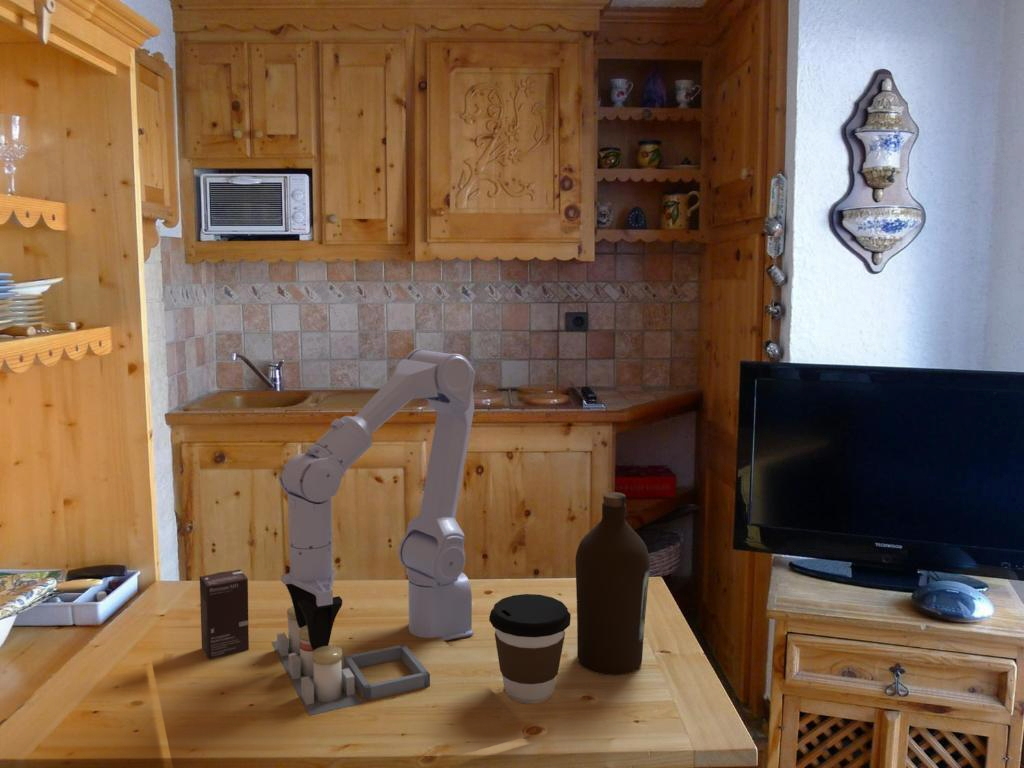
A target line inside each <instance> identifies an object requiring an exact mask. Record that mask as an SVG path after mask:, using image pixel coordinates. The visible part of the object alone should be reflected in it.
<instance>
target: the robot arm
mask: <svg viewBox="0 0 1024 768" xmlns="http://www.w3.org/2000/svg"><path fill="white" fill-rule="evenodd" d="M476 373H477V372H476V370H475V369H474V368H473V365H471V363H470V362H469V360H468V359H467V358H466V357H465V356H463V354H459V353H446V352H439V351H432V350H427V349H425V348H416V349H414V350H411V351H410V352H409V353H408V354H407V355H406V357H405V358H404V359H402V360H401V361H399V362H398V363H397V365H396V368H395V371H394V373H393V375H392V376H391V377H390V378H389V379H388V380H387V381H386V382H385V383H384V384H383V385H382V386H381V388H380V389H379V390H378V391H377V392H376V393H375V394H374V395H373V396H372V397H371V399H369V400H368V402H367V403H365V405H364V406H363V407H362V408H361V409H360V410H359V411H358V413H357V414H355V416H351V415H350V416H347V415H345V416H342V417H341V418H340V419H339V418H335V419H334V420H333V421H332V422H331V423H330V426H331V427H330V428H329V429H328V430H327V431H326V432H325V433H324V434H323V435H322V436H321V437H320V438H319V439H318V440H317V441H315V443H313V444H312V443H311V444H309V446H307V447H306V451H305V453H299V454H295V455H294V456H292V457H290V458H289V459H288V460H287V462H286V463H285V465H284V467H283V469H282V471H281V472H282V474H280V475H278V482H279V485H280V487H281V489H282V490H283V491H284V492H285V494H286V495H287V497H286V498H287V504H288V505H287V506H288V540H289V541H288V545H289V549H288V550H289V573H286V574H285V573H284V574H282V575H280V581H281V582H282V583H283V585H285V586H286V588H287V591H288V593H289V596H290V599H291V601H292V603H291V604H292V606H293V607H294V611H295V616H296V620H297V623H298V626H299V628H302V627H304V626H306V625H307V629H308V635H309V641H310V645H311V647H312V649H313V650H315V649H317V648H319V647H322V646H329V645H330V640H331V636H332V635H331V634H332V632H333V631H332V630H333V626H334V622H335V620H336V618H337V615H338V613H339V611H340V610H341V608H342V606H343V598H341V596H333V595H334V594H333V593H334V592H333V585H334V581H335V580H334V579H335V571H334V569H333V568H334V567H333V564H334V563H333V561H334V560H333V521H332V520H333V519H332V518H333V517H332V515H333V513H332V512H333V510H332V509H333V508H332V507H333V506H332V504H333V503H332V497H333V496H336V494H337V493H338V491H339V488H340V486H341V481H342V478H343V477H344V476H345V473H346V472H347V471H348V470H349V469H350V468H351V466H353V465H354V464H355V462H357V461H358V460H359V459H361V457H362V456H363V455H364V454H365V453H366V452H367V451H368V450H369V449H370V448H371V447H372V445H373V434H374V433H375V432H376V431H377V430H378V429H379V428H381V426H383V425H384V424H385V423H386V422H387V421H388V420H390V419H391V418H392V417H393V416H394V415H396V414H397V413H398V412H400V410H402V408H404V407H405V406H406V405H407V404H408V403H409V402H410V401H412V400H416V399H426V401H427V402H428V403H429V404H430V406H431V407H432V408H433V410H434V412H435V413H436V419H435V426H434V431H433V437H432V442H431V443H432V444H431V447H430V454H429V460H428V465H427V470H426V477H425V481H424V482H425V483H424V488H423V494H422V500H421V505H420V511H419V513H418V514H416V516H415V517H413V518H412V519H411V520H410V521H408V522H407V528H406V531H405V534H404V536H403V537H402V540H401V541H400V543H399V546H398V559H399V562H400V563H401V565H402V566H404V568H405V569H406V571H405V572H406V573H405V574H406V575H407V576H408V577H407V578H408V583H407V585H408V587H407V588H408V589H407V590H408V632H409V633H410V634H412V635H413V636H416V637H419V638H423V639H437V638H441V639H442V640H443V641H445V642H447V641H449V640H455V639H459V638H464V637H470V636H473V635H474V630H472V628H473V626H472V625H473V624H472V621H473V620H472V619H473V618H472V617H473V616H472V615H473V614H472V612H473V611H472V609H473V608H472V607H473V605H472V604H473V603H472V602H473V601H472V600H473V597H472V596H473V594H472V587H471V583H470V581H469V578H468V576H467V575H466V574H465V573H464V572H463V571H464V568H465V564H466V552H465V547H464V546H465V545H464V544H465V539H466V536H465V534H464V532H463V529H461V527H460V526H459V523H458V522H457V520H456V516H457V510H458V504H459V499H460V498H459V497H460V494H461V493H460V492H461V487H462V482H463V481H462V480H463V476H464V469H465V465H466V459H467V453H468V449H469V447H468V446H469V441H470V437H471V436H470V435H471V431H472V430H471V429H472V425H473V417H474V413H475V400H474V399H475V398H474V392H473V390H474V385H475V378H476Z"/></svg>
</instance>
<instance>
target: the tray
mask: <svg viewBox="0 0 1024 768" xmlns="http://www.w3.org/2000/svg"><path fill="white" fill-rule="evenodd" d="M398 660H401V661H402V662H403V663H404V664H405V665H406V666H407V668H408V669H409V670H410V671H411V673H412V674H410V675H405V676H401V677H396V678H392V679H388V680H387V679H386V680H383V681H379V682H372V683H369V682H368V680H367V679H366V677H365V676H364V674H363V673H362V671H361V670H360V669H359V668H363V667H369V666H373V665H377V664H378V665H379V664H382V663H388V662H392V661H398ZM346 668H349V669H350V671H351V672H352V674H353V675H354V686H355V687H356V688H357V690H358V691H359V694H360V695H361V697H362V698H363V699H364V700H365V702H366V701H370V700H375V699H378V698H384V697H389V696H392V695H393V696H394V695H397V694H401V693H406V692H410V691H415V690H418V689H424V688H428V687H431V673H430V672H429V671H428V670H427V669H426V667H425V666H424V665H423V664H422V663H421V662H420V661H419V660H418V658H417V657H416V656H415V655H414V653H413V652H412V651H411V649H409V647H408V646H407V645H406V644H405V643H402V644H398V645H394V646H389V647H384V648H378V649H374V650H369V651H364V652H360V653H353V654H348V655H344V656H343V669H346Z"/></svg>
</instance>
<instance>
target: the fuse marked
mask: <svg viewBox="0 0 1024 768" xmlns="http://www.w3.org/2000/svg"><path fill="white" fill-rule="evenodd" d="M299 638H300V659H301V674H302V675H304V676H309V677H314V667H313V658H312V653H313V651H314V650H313V649H312V647H311V645H310V641H309V635H308V629H307V625H306V626H304V627H302V628H300V630H299Z"/></svg>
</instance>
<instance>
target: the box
mask: <svg viewBox="0 0 1024 768" xmlns="http://www.w3.org/2000/svg"><path fill="white" fill-rule="evenodd" d="M248 580H249V579H248V577H247V575H246V574H245V573H244V572H243V571H242V570H241V568H240V569H236V570H235V569H233V570H229V571H221V572H215V573H212V574H207V575H202V576H199V595H200V598H199V599H200V626H201V627H200V631H201V650H202V652H203V653H204V655H205V656H206V657H207V660H208V661H209V660H213V659H218V658H221V657H226V656H230V655H233V654H237V653H242V652H246V651H249V650H250V649H249V648H250V645H249V643H250V641H249V639H250V636H249V632H250V631H249V581H248Z"/></svg>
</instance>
